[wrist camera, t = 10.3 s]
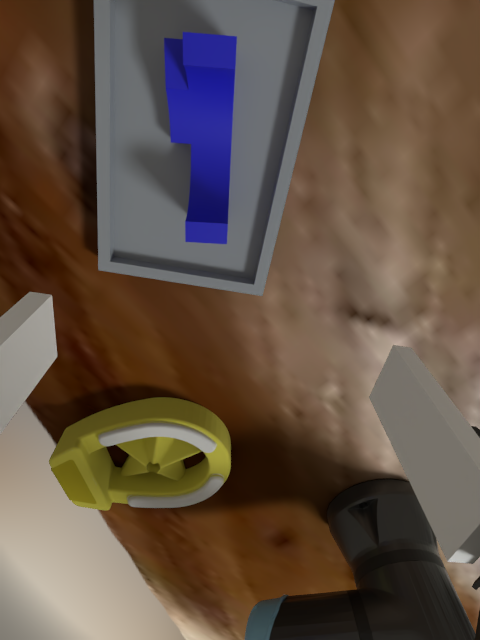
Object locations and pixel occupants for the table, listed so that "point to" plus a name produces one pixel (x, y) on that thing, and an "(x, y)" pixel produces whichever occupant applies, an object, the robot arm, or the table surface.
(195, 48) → the blue long stepped piece
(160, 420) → the yellow rounded low piece
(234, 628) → the table surface
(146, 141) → the tray
